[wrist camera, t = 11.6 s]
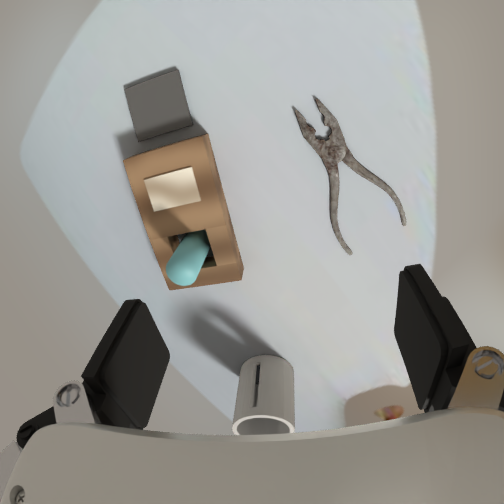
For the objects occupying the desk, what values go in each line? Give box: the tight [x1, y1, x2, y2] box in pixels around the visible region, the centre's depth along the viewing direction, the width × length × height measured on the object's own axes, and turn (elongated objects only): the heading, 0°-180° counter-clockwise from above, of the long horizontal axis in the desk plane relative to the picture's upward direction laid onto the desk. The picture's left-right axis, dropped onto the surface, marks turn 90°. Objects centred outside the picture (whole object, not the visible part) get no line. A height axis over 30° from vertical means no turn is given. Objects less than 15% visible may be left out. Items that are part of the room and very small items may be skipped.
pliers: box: [295, 99, 406, 255], centre depth 36 cm, size 10×1×20 cm
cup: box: [232, 355, 295, 435], centre depth 46 cm, size 9×9×12 cm
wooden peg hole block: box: [123, 134, 244, 290], centre depth 38 cm, size 18×10×3 cm, turn 13°
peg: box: [166, 230, 211, 286], centre depth 37 cm, size 4×4×8 cm
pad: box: [125, 70, 193, 142], centre depth 33 cm, size 7×7×1 cm
